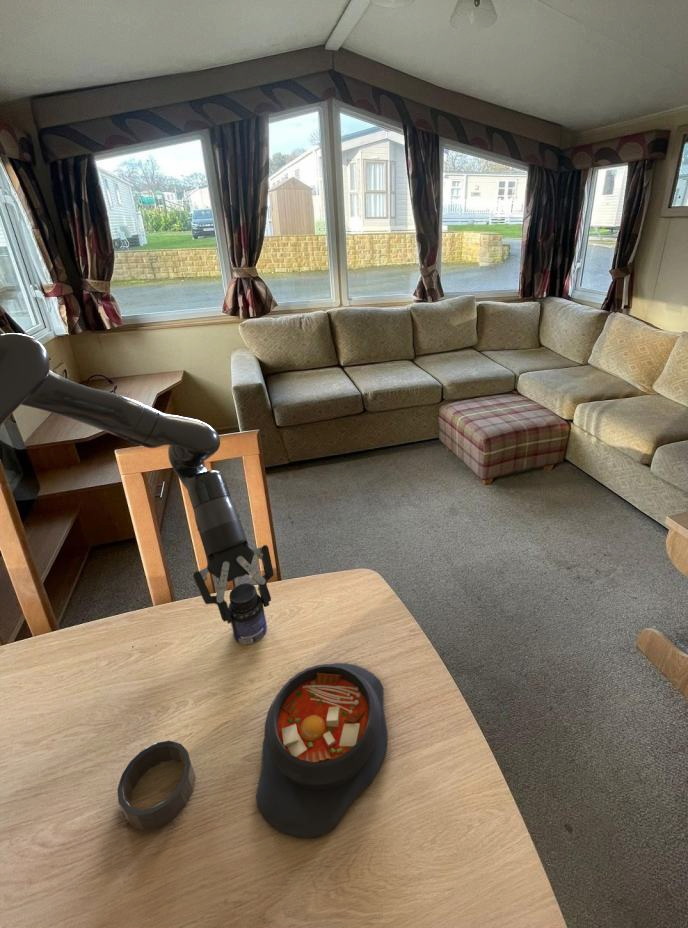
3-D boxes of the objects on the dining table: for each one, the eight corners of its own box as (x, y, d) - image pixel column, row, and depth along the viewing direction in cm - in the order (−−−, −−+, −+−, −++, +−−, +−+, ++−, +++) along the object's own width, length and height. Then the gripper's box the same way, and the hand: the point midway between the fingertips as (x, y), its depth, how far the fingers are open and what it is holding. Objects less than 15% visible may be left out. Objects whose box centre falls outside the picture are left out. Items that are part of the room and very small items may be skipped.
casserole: (308, 658, 86) (304, 625, 83) (408, 688, 81) (408, 654, 77) (225, 814, 65) (214, 779, 62) (352, 870, 60) (349, 835, 56)
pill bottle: (274, 631, 92) (267, 588, 87) (250, 655, 87) (242, 611, 82) (251, 617, 95) (243, 575, 90) (227, 640, 90) (217, 597, 85)
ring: (117, 841, 63) (107, 821, 61) (138, 767, 71) (129, 746, 69) (189, 828, 64) (182, 807, 62) (201, 756, 72) (195, 735, 70)
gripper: (254, 516, 97) (282, 598, 93) (179, 543, 90) (206, 632, 86) (259, 508, 90) (290, 596, 87) (179, 536, 84) (209, 633, 80)
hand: (248, 614), depth 86 cm, fingers closed on pill bottle, 6 cm apart
